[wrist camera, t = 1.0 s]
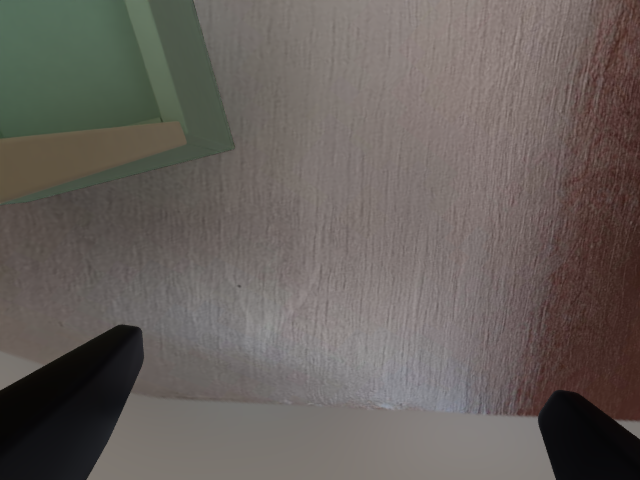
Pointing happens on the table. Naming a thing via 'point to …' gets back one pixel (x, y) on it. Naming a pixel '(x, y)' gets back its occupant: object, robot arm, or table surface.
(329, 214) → the table surface
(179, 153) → the chest
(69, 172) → the lid
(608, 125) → the table surface
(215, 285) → the table surface
